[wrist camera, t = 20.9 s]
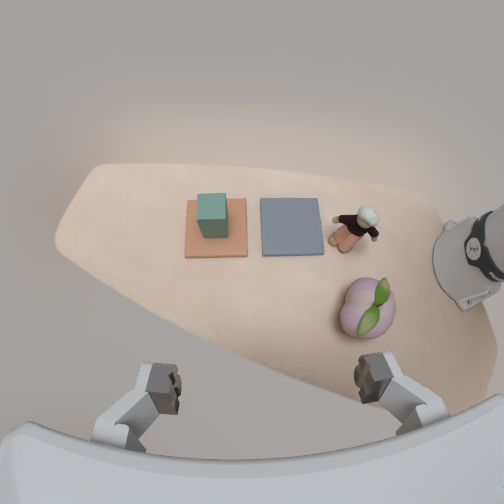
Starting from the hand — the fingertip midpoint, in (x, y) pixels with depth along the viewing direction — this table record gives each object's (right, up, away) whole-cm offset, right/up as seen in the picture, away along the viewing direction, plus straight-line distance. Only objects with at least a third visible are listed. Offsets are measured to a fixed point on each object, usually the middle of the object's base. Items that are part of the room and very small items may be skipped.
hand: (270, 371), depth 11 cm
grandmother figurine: (+15, +7, +36) cm, 39 cm away
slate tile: (+6, +9, +36) cm, 38 cm away
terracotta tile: (-7, +9, +36) cm, 37 cm away
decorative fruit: (+16, -5, +32) cm, 36 cm away
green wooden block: (-7, +9, +35) cm, 36 cm away
